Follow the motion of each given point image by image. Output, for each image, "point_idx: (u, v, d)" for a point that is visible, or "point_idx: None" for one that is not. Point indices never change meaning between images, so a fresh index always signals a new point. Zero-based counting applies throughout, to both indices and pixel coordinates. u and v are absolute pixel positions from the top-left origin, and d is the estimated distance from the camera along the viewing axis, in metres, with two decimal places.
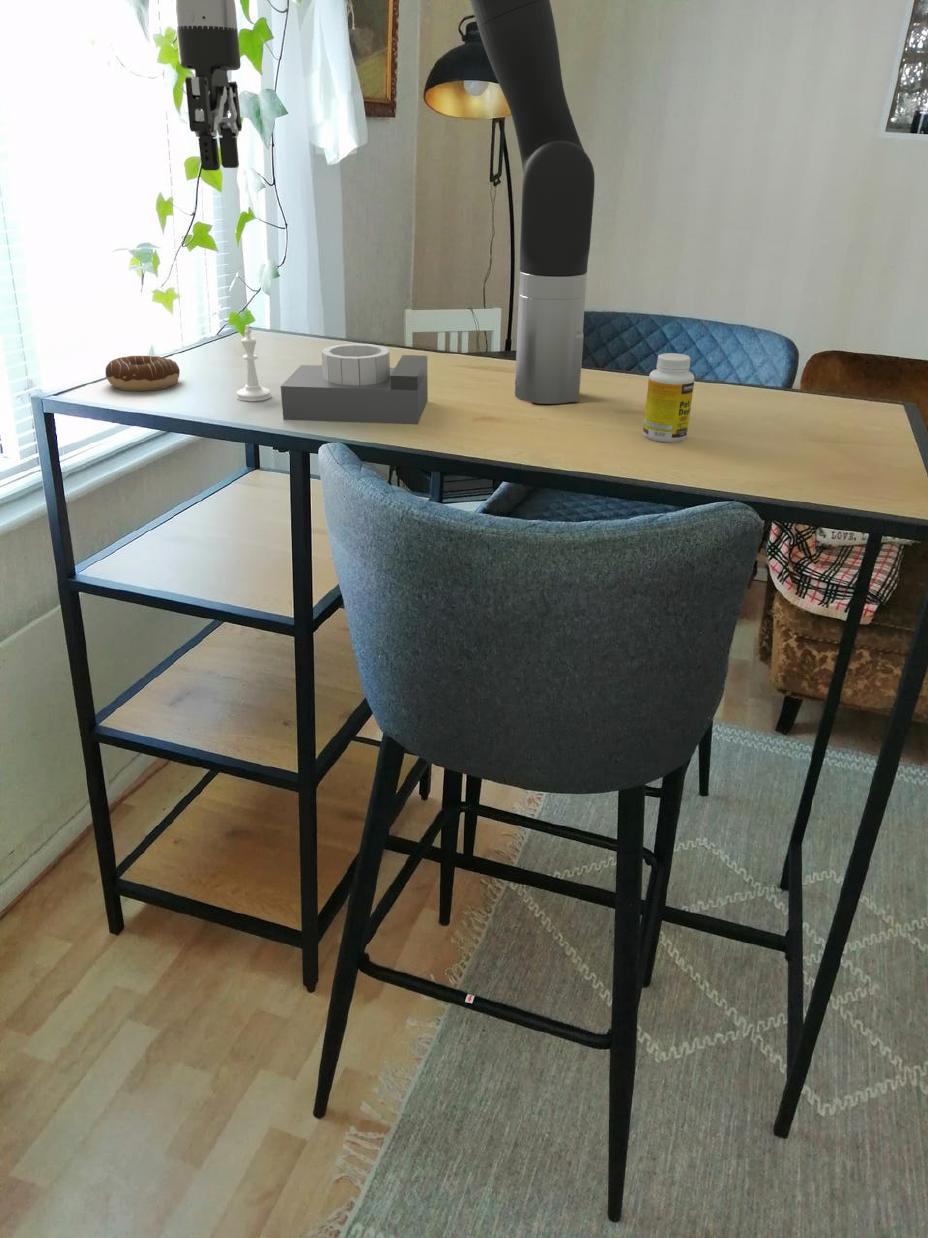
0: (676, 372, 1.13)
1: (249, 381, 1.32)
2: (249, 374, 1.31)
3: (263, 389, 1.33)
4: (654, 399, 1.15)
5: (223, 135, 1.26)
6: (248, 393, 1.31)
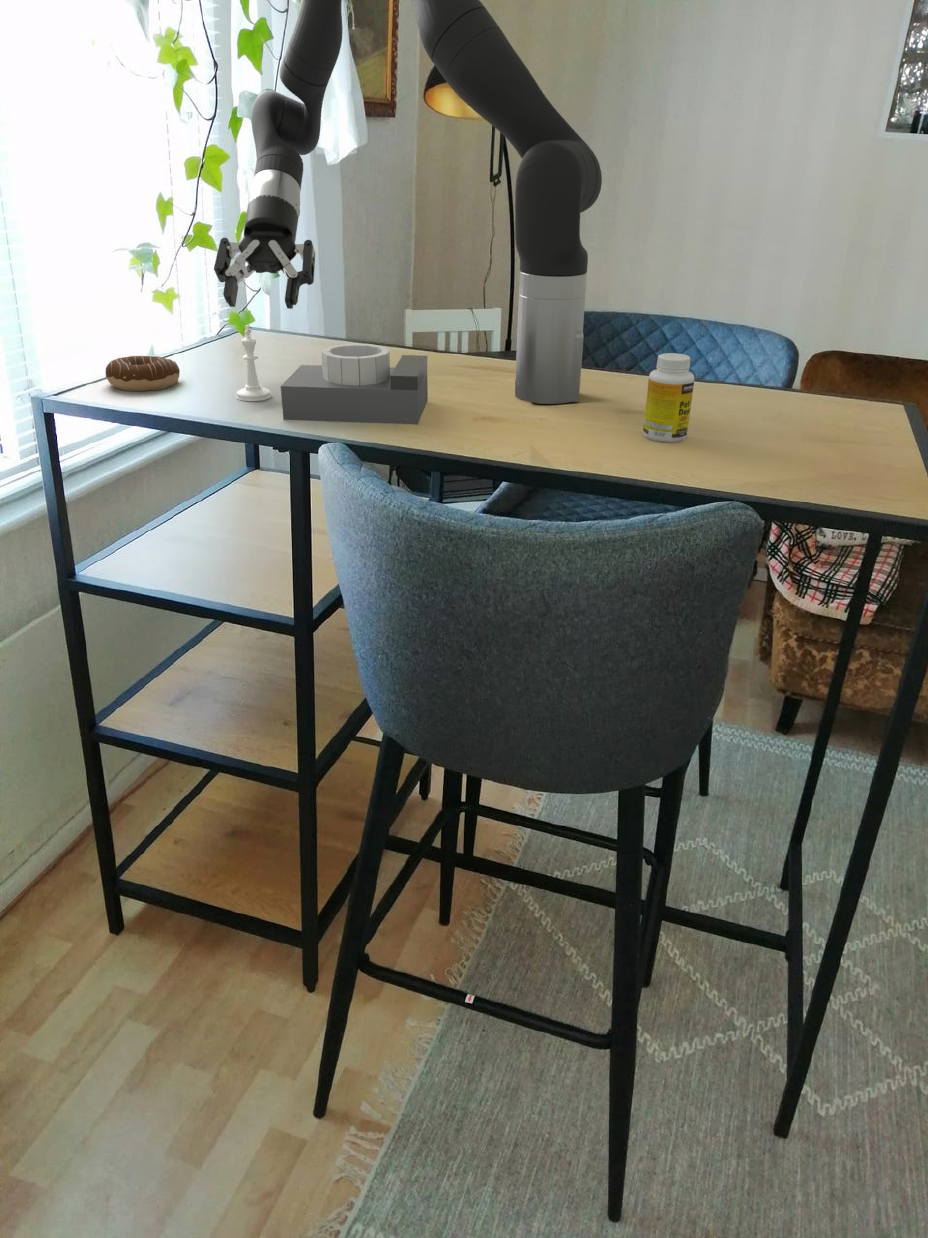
0: (676, 372, 1.13)
1: (249, 381, 1.32)
2: (249, 374, 1.31)
3: (263, 389, 1.33)
4: (654, 399, 1.15)
5: None
6: (248, 393, 1.31)
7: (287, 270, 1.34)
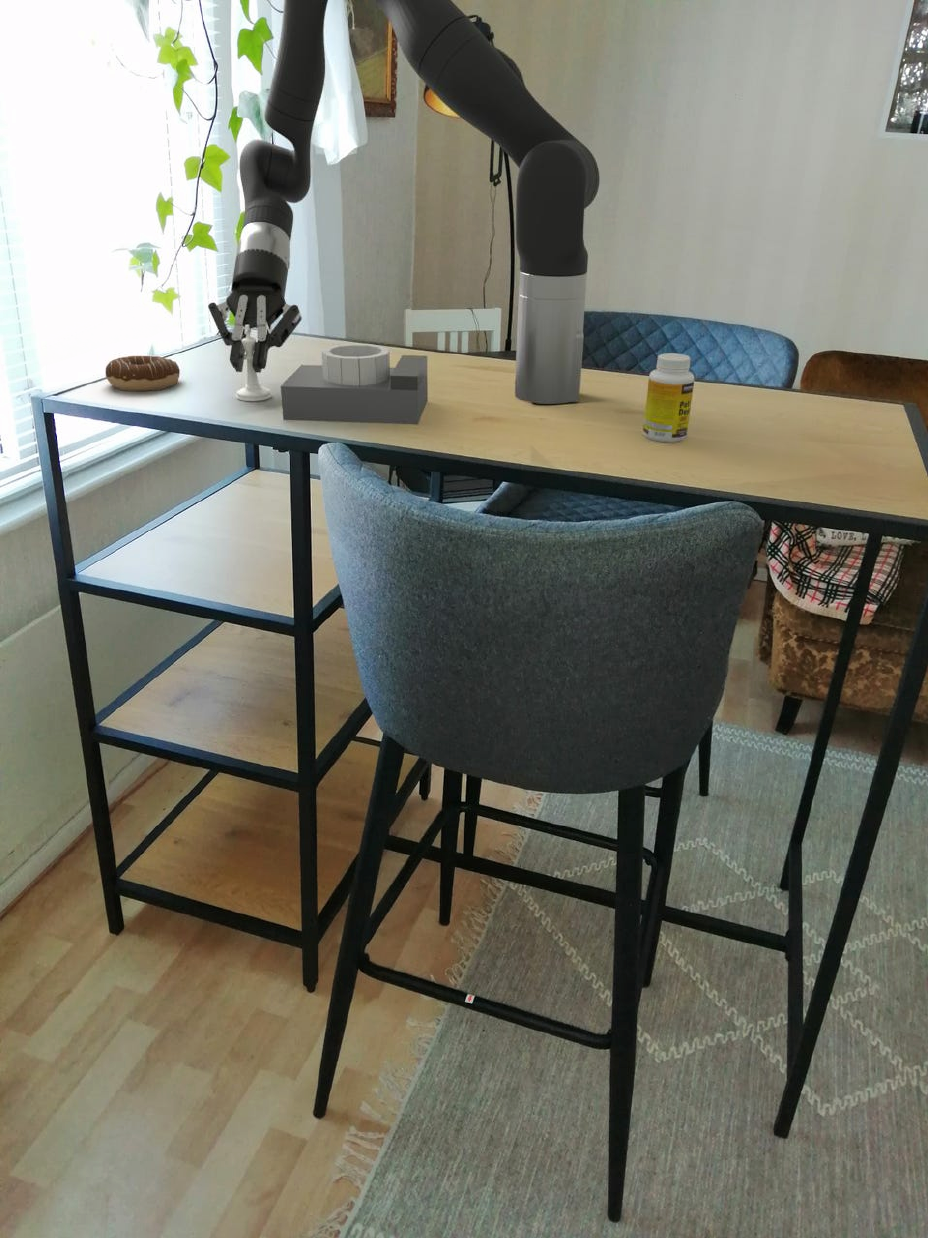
0: (676, 372, 1.13)
1: (249, 380, 1.32)
2: (249, 374, 1.31)
3: (263, 389, 1.33)
4: (654, 399, 1.15)
5: None
6: (248, 393, 1.31)
7: (258, 331, 1.30)
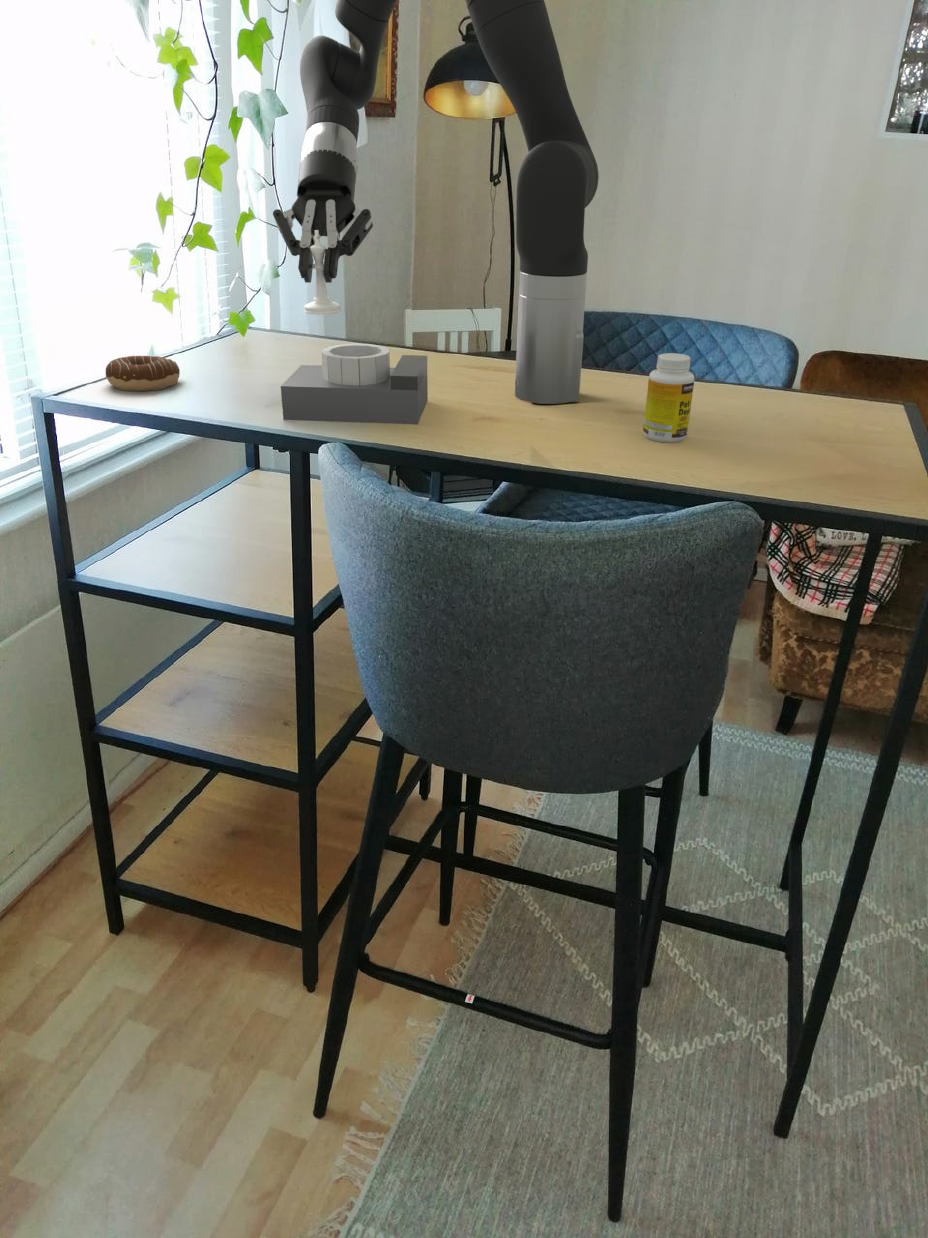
0: (676, 372, 1.13)
1: (318, 292, 1.22)
2: (318, 285, 1.22)
3: (333, 302, 1.23)
4: (654, 399, 1.15)
5: None
6: (318, 305, 1.22)
7: (328, 237, 1.20)
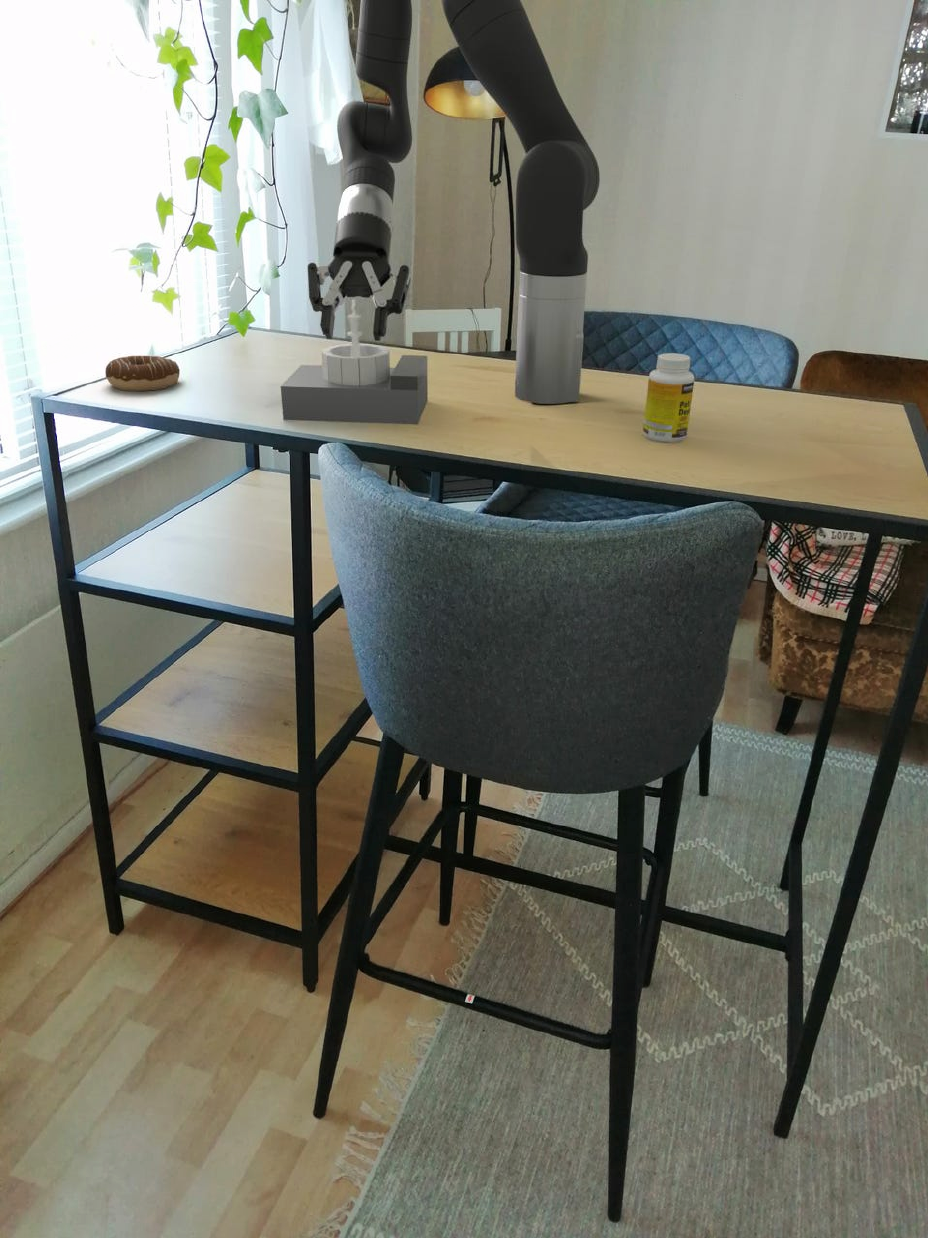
0: (676, 372, 1.13)
1: None
2: (353, 352, 1.24)
3: None
4: (654, 399, 1.15)
5: None
6: None
7: (376, 297, 1.22)
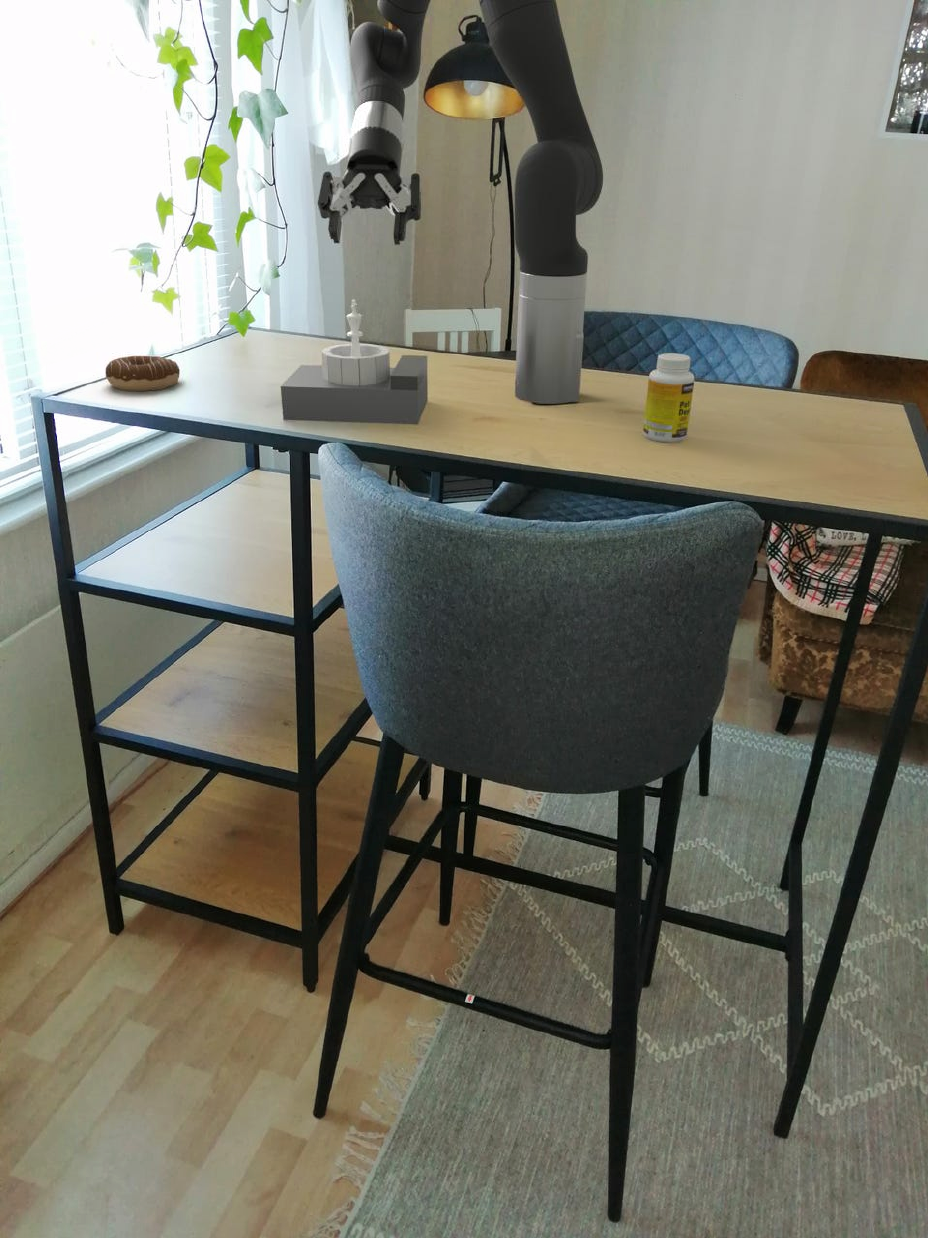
0: (676, 372, 1.13)
1: None
2: (353, 352, 1.24)
3: None
4: (654, 399, 1.15)
5: None
6: None
7: (395, 204, 1.29)
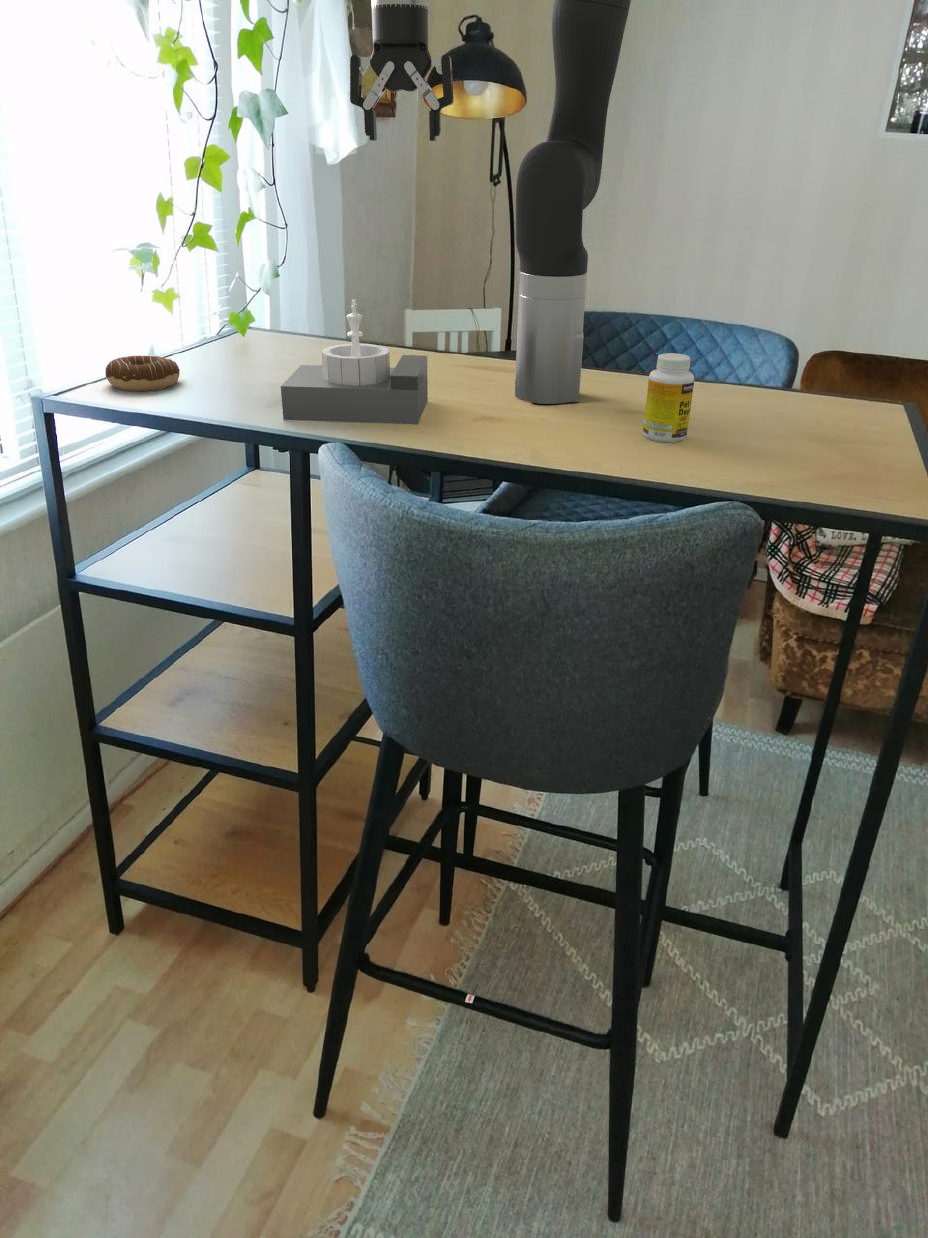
0: (676, 372, 1.13)
1: None
2: (353, 352, 1.24)
3: None
4: (654, 399, 1.15)
5: None
6: None
7: (427, 99, 1.28)
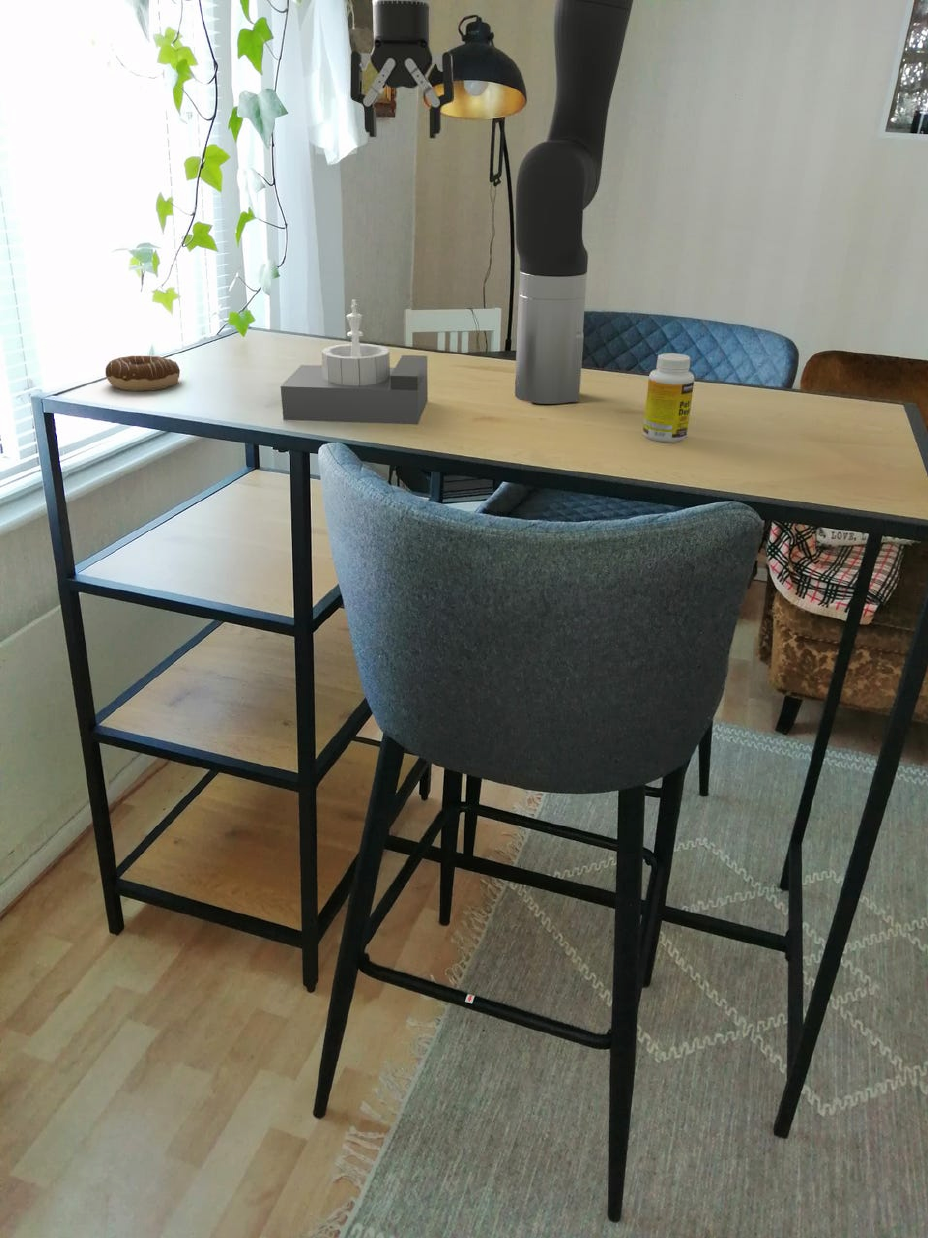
0: (676, 372, 1.13)
1: None
2: (353, 352, 1.24)
3: None
4: (654, 399, 1.15)
5: None
6: None
7: (428, 97, 1.28)
